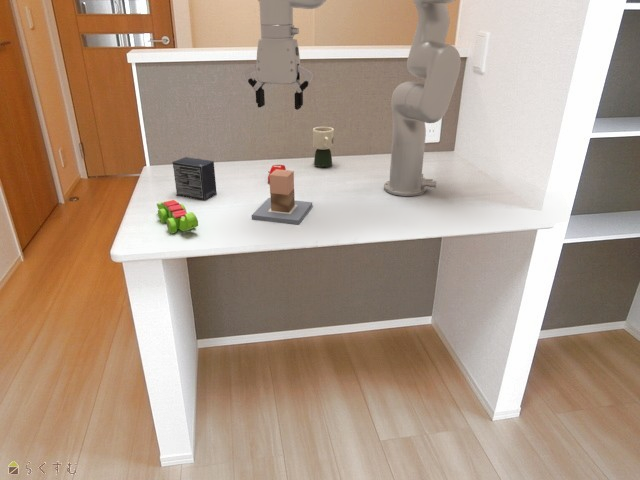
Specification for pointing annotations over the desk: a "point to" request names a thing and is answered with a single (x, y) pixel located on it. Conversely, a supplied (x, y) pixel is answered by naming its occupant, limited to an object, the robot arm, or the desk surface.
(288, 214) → the board
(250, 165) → the desk surface
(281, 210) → the walnut cube
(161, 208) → the toy crocodile
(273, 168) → the race car
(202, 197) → the small box
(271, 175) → the terracotta cube
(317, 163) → the character mug
